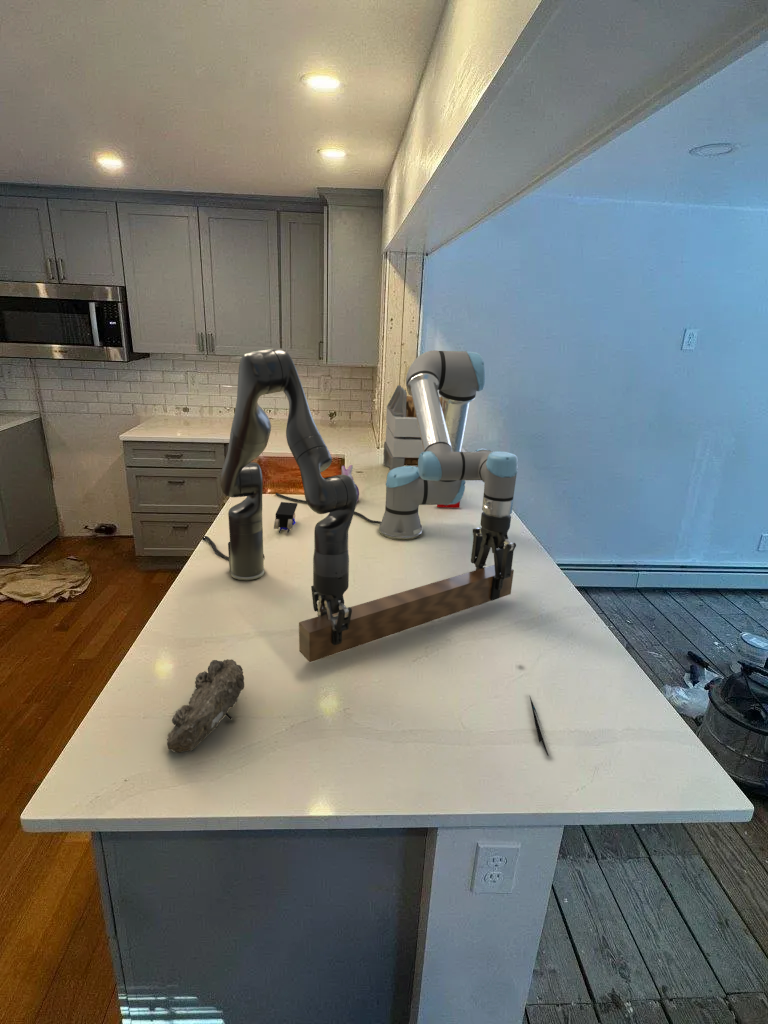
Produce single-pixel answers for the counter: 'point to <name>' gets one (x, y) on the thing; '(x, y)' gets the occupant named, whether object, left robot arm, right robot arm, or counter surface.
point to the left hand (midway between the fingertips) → (330, 637)
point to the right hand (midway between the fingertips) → (487, 594)
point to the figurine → (348, 473)
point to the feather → (538, 726)
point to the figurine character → (285, 516)
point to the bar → (400, 612)
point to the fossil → (206, 705)
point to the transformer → (402, 431)
